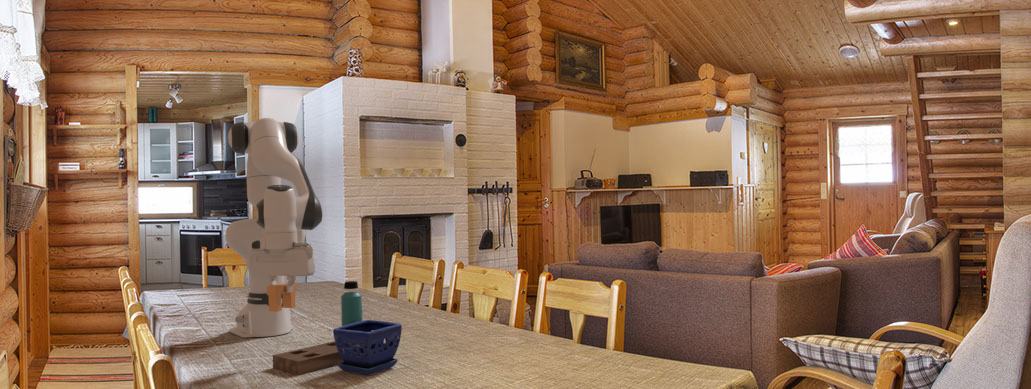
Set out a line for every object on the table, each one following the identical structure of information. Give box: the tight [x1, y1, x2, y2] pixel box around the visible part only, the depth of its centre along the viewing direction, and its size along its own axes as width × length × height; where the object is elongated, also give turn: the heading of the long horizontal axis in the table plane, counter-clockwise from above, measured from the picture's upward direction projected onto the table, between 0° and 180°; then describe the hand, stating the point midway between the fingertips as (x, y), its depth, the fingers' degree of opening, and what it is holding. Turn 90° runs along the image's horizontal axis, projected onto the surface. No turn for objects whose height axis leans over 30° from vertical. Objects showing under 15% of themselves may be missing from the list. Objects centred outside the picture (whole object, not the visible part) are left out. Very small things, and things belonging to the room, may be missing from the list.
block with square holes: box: [272, 340, 344, 376], centre depth 191 cm, size 12×24×4 cm, turn 141°
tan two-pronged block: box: [267, 281, 297, 312], centre depth 191 cm, size 9×3×7 cm, turn 160°
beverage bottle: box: [340, 280, 364, 326], centre depth 209 cm, size 6×7×20 cm
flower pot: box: [332, 319, 402, 376], centre depth 181 cm, size 13×13×12 cm
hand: (282, 291), depth 191 cm, fingers closed on tan two-pronged block, 3 cm apart
